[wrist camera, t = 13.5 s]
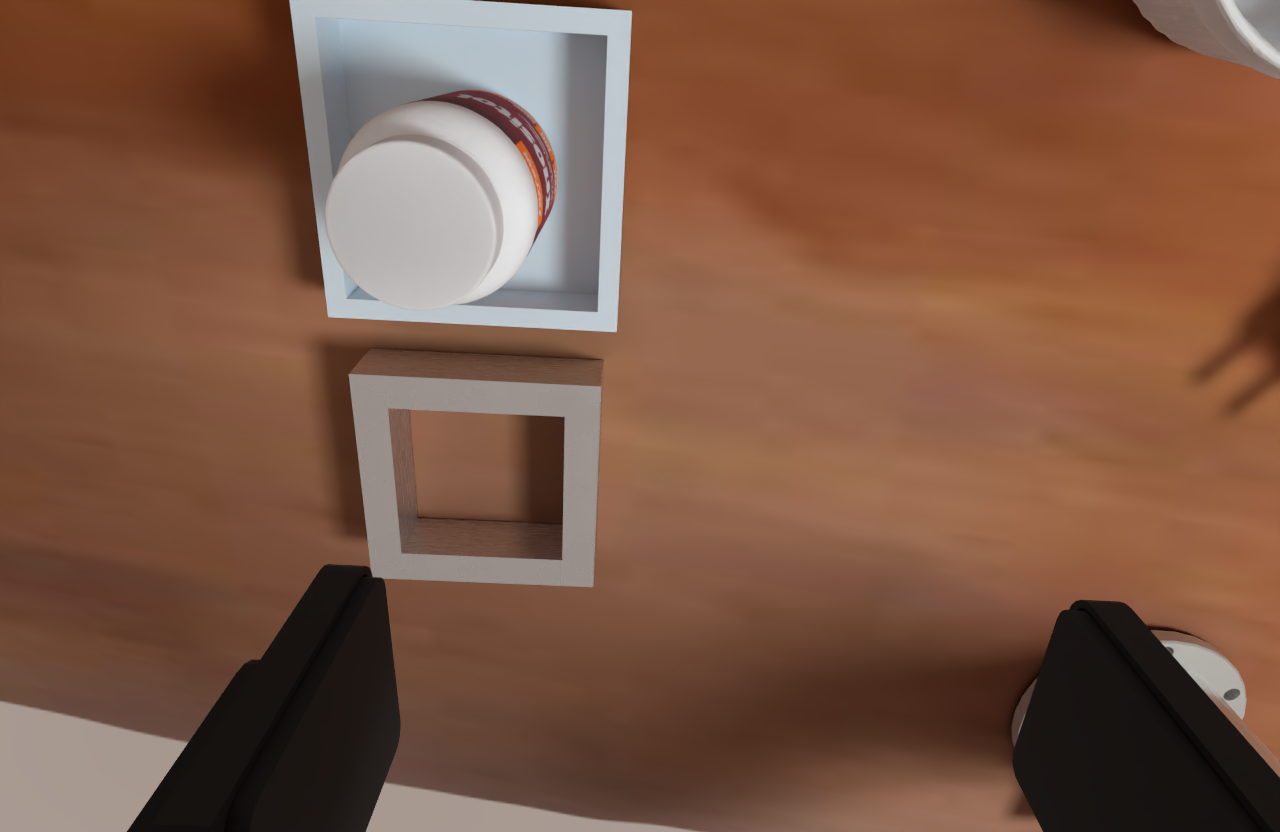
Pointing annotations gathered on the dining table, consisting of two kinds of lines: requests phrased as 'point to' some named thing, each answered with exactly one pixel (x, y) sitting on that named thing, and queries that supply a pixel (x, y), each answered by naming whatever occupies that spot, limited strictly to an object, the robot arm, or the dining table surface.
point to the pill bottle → (441, 199)
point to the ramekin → (1222, 29)
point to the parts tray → (499, 63)
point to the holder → (475, 386)
